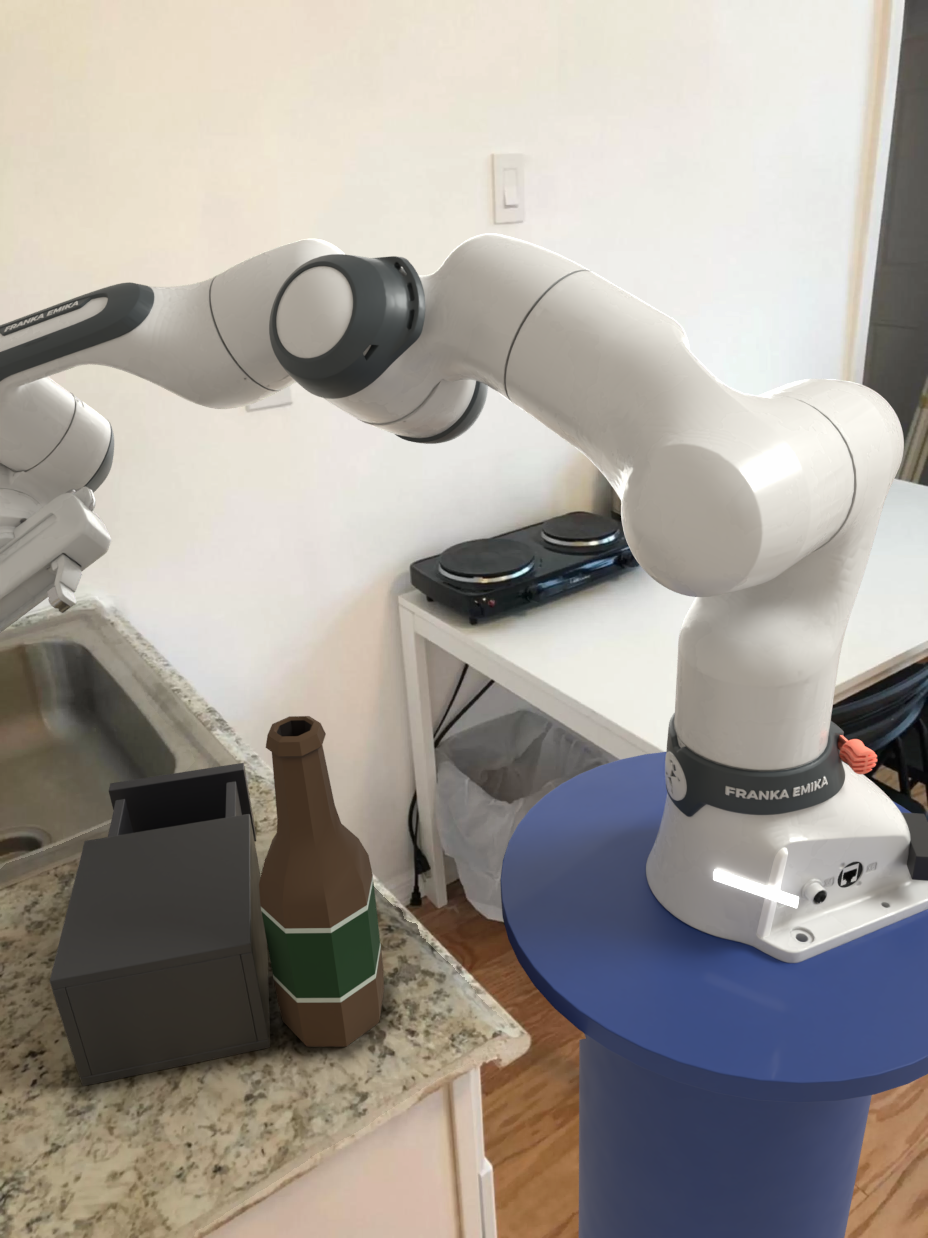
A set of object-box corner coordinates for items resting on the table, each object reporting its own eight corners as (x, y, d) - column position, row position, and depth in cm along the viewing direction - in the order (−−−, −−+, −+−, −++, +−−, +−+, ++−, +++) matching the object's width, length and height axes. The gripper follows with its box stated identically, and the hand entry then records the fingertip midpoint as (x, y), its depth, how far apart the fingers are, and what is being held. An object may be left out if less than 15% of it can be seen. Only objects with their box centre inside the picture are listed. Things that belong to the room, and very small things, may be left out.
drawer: (133, 827, 88) (116, 757, 85) (255, 807, 90) (243, 737, 87) (108, 964, 72) (86, 884, 69) (258, 936, 74) (243, 857, 71)
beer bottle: (406, 986, 70) (379, 707, 60) (353, 1068, 63) (311, 771, 53) (318, 957, 73) (278, 687, 63) (259, 1032, 66) (203, 746, 56)
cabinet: (109, 935, 76) (84, 840, 72) (266, 907, 78) (249, 813, 74) (82, 1087, 63) (49, 981, 59) (270, 1048, 65) (250, 943, 61)
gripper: (111, 498, 92) (139, 585, 83) (-51, 621, 93) (-40, 719, 84) (64, 458, 87) (88, 545, 78) (-107, 588, 88) (-101, 688, 79)
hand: (20, 637), depth 81 cm, fingers open, 8 cm apart
